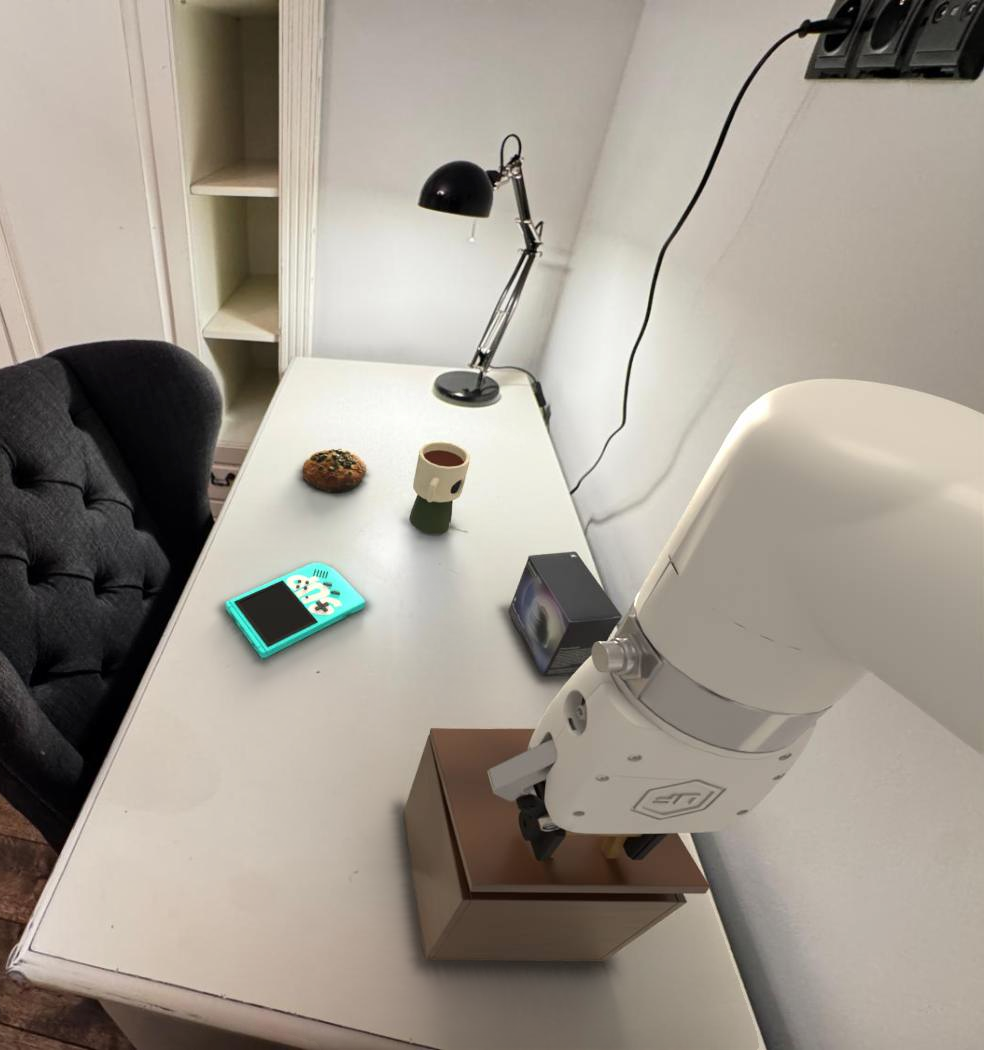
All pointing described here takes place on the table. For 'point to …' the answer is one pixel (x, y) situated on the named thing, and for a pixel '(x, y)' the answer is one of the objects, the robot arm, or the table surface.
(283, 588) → the handheld game console
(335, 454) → the bread roll
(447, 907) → the brown wooden box
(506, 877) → the lid
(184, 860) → the table surface
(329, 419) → the table surface
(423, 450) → the character mug
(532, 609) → the small box
